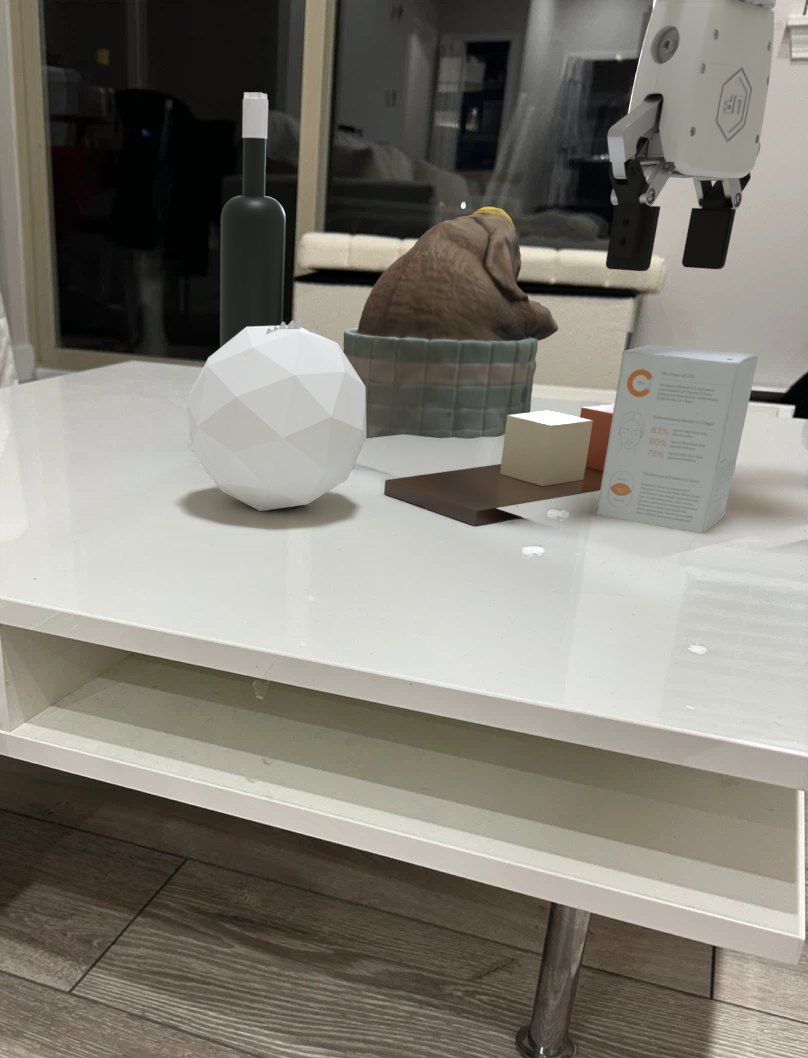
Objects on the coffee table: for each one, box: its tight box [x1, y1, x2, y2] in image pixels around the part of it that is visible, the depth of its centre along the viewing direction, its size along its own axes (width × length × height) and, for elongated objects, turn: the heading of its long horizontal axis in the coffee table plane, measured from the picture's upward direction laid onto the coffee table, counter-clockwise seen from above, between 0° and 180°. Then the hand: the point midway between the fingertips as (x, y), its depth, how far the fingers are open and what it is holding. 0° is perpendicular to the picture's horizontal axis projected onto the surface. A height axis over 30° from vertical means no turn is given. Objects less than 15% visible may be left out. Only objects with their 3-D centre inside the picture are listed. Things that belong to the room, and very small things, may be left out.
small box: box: [596, 344, 759, 534], centre depth 78 cm, size 8×6×13 cm
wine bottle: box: [219, 91, 287, 349], centre depth 96 cm, size 6×6×30 cm
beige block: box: [500, 410, 593, 486], centre depth 89 cm, size 5×5×5 cm
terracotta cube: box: [579, 403, 615, 471], centre depth 94 cm, size 5×5×5 cm
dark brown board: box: [383, 463, 603, 526], centre depth 91 cm, size 26×11×1 cm, turn 123°
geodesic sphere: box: [186, 317, 367, 512], centre depth 82 cm, size 15×14×14 cm
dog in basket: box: [342, 206, 559, 440], centre depth 111 cm, size 23×25×22 cm
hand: (665, 268), depth 76 cm, fingers open, 9 cm apart
